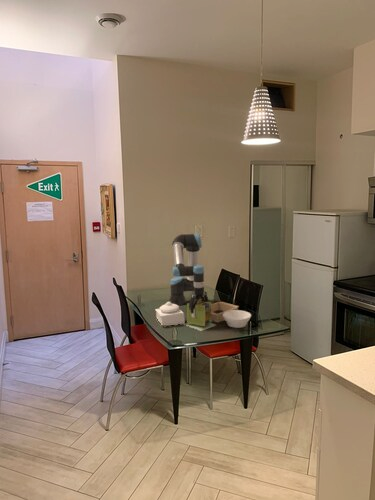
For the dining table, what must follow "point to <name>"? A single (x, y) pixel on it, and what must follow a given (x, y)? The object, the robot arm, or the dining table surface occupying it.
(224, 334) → the dining table surface
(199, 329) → the mat
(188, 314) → the protein box
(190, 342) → the dining table surface
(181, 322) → the butter dish
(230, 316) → the bowl
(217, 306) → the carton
